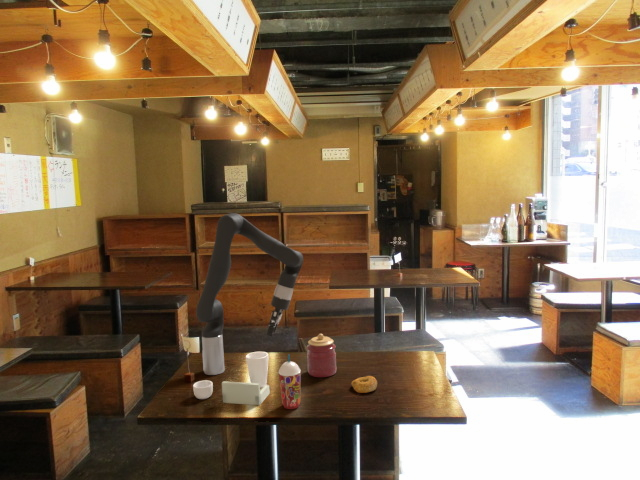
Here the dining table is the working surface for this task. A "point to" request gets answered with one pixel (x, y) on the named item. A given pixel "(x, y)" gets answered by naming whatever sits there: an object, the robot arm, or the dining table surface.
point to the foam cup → (258, 367)
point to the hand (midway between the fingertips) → (270, 333)
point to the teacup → (203, 389)
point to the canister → (321, 357)
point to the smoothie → (290, 384)
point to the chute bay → (244, 393)
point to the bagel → (364, 384)
